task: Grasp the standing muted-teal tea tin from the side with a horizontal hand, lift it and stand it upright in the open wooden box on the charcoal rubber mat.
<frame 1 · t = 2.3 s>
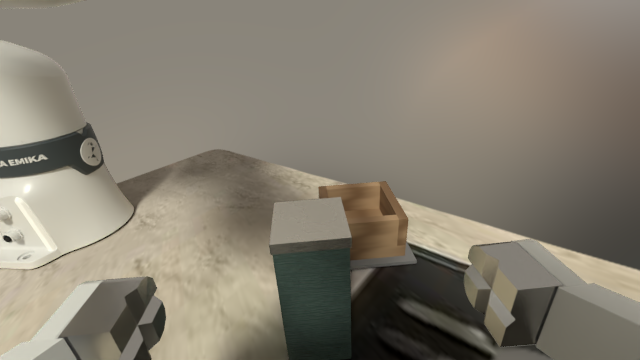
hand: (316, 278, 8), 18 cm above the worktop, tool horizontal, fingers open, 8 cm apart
open wooden box: (358, 235, 39), resting on mat
mat: (358, 237, 39), on the worktop
tea tin: (318, 333, 27), on the worktop
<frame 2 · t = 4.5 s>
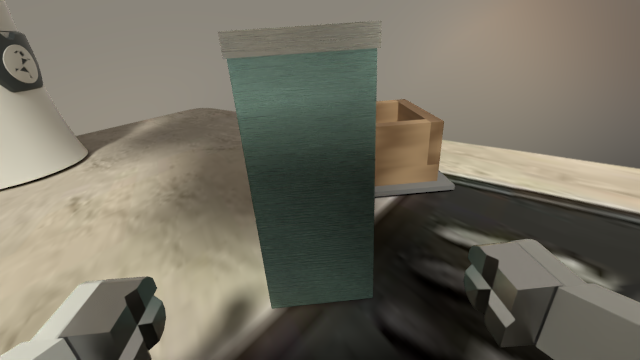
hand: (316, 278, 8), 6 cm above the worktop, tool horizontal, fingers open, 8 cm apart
open wooden box: (371, 164, 29), resting on mat
mat: (370, 168, 29), on the worktop
tea tin: (318, 268, 17), on the worktop
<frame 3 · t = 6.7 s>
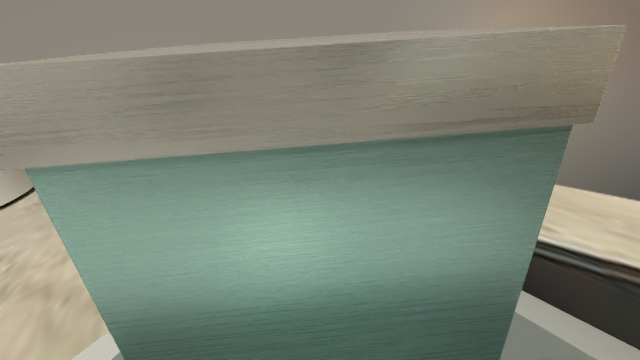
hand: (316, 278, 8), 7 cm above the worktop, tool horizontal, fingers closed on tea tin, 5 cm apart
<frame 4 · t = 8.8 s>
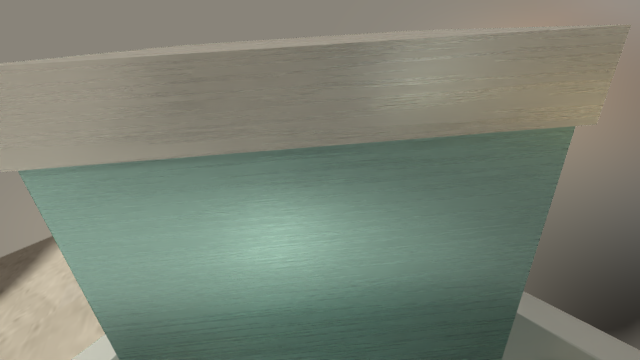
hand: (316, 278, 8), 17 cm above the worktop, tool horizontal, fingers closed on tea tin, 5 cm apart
when the fingers open (9 cm above the worktop, at t = 11.3 s): tea tin stays where it is, resting on open wooden box.
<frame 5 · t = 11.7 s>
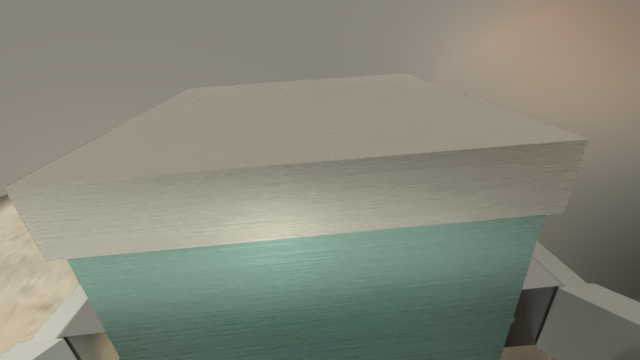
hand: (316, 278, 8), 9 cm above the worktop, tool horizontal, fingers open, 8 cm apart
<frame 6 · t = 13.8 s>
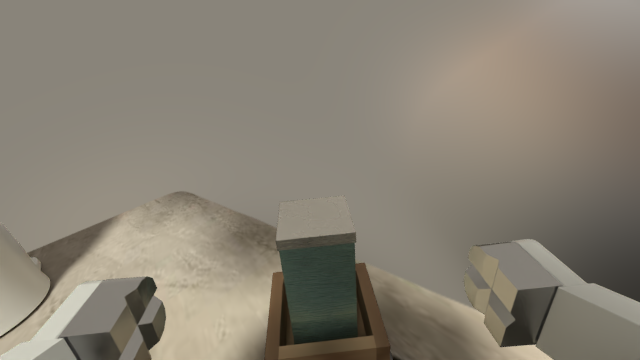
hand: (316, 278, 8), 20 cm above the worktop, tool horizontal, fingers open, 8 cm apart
open wooden box: (326, 344, 28), resting on mat
tea tin: (325, 332, 27), point 2 cm above the worktop, touching open wooden box
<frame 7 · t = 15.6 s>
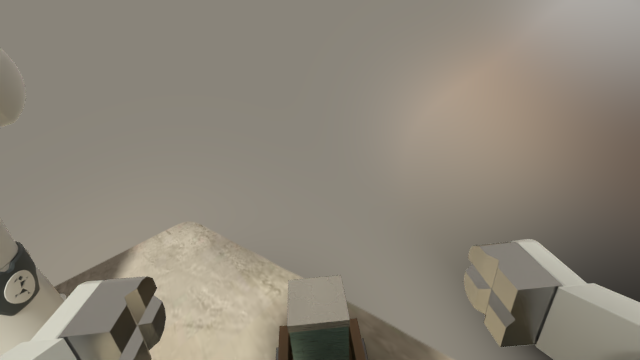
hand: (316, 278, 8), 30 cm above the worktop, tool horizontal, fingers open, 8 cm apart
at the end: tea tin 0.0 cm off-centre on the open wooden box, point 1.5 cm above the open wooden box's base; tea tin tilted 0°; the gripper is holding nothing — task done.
